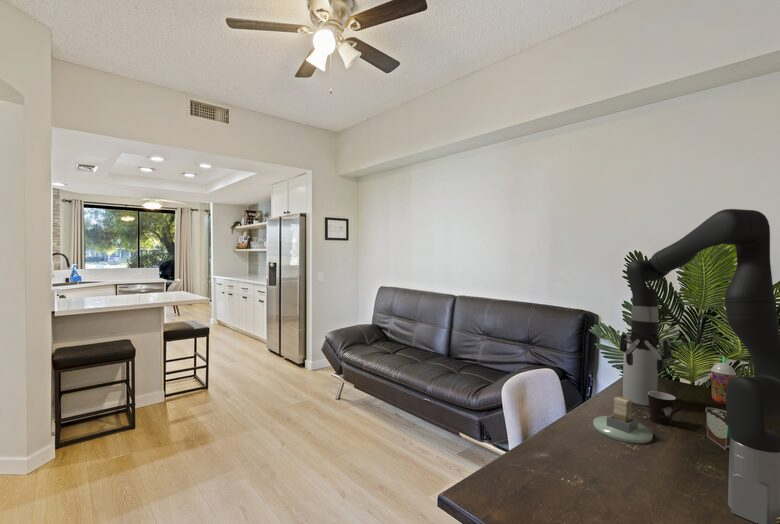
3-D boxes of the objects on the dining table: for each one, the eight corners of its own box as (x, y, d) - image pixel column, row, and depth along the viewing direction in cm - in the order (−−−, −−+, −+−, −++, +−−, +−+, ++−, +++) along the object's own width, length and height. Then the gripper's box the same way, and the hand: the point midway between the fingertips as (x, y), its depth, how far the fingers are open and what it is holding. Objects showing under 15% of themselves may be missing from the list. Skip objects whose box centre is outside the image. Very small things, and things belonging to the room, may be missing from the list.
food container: (751, 454, 118) (752, 423, 118) (728, 452, 120) (729, 421, 119) (724, 436, 130) (725, 408, 130) (704, 434, 132) (705, 406, 132)
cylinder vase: (627, 404, 158) (629, 345, 158) (618, 394, 170) (620, 339, 170) (661, 408, 155) (663, 348, 154) (650, 397, 166) (652, 341, 166)
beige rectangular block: (625, 430, 130) (626, 402, 130) (613, 425, 134) (614, 398, 133) (630, 427, 133) (631, 399, 132) (618, 423, 136) (619, 396, 136)
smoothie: (705, 400, 164) (707, 355, 164) (715, 397, 167) (717, 353, 167) (729, 407, 156) (730, 360, 156) (739, 404, 160) (740, 358, 160)
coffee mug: (648, 423, 140) (649, 396, 140) (645, 414, 147) (646, 389, 147) (687, 430, 134) (688, 403, 134) (682, 421, 142) (682, 395, 142)
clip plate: (639, 448, 121) (639, 435, 121) (583, 427, 135) (583, 415, 135) (661, 434, 131) (661, 421, 131) (607, 416, 146) (607, 404, 146)
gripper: (616, 317, 129) (616, 364, 128) (665, 322, 117) (665, 374, 117) (626, 316, 133) (626, 362, 133) (674, 321, 121) (674, 371, 121)
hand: (644, 367), depth 125 cm, fingers open, 8 cm apart
